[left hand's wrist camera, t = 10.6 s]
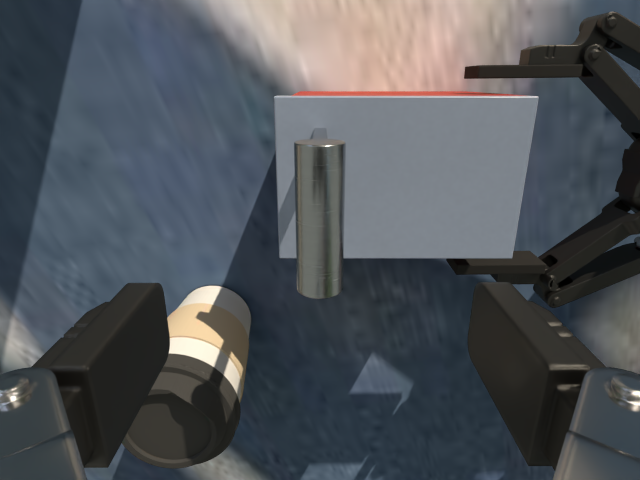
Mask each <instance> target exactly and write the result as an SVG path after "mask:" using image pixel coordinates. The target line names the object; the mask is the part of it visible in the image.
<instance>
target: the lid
mask: <svg viewBox="0 0 640 480" xmlns="http://www.w3.org/2000/svg"><path fill="white" fill-rule="evenodd" d="M538 99H539V97H537V96H275V97H274V120H275V149H276V177H277V206H278V235H279V258H296V266H297V290H298V292H299V293H300V294H301V295H303V296H306V297H309V298H314V299H325V298H331V297H334V296H337V295H338V294H340V293H341V292H342V290H343V260H344V258H390V259H512V256H513V250H514V244H515V238H516V232H517V226H518V220H519V214H520V208H521V202H522V196H523V190H524V184H525V177H526V171H527V165H528V159H529V153H530V147H531V141H532V135H533V129H534V123H535V117H536V111H537V105H538Z"/></svg>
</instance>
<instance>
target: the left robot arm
mask: <svg viewBox="0 0 640 480" xmlns="http://www.w3.org/2000/svg"><path fill="white" fill-rule="evenodd" d="M169 349H170V334H169V327H168V320H167V313H166V305H165V298H164V292H163V288H162V286H161V284H159V283H128V284H126V285H125V286H124V287H123V288H122V289H121V290H120V291H119V293H118V294H117V295H116V296H115V297H114V298H113V299H112V300H111V301H110V302H105V303H103V304H101V305H99V306H97V307H96V308H94V309H92V310H90V311H88V312H87V313H86V314H85V315H84V316H83V317H82V318H81V319H80V320H79V321H77V322H76V323H75V324H74V327H71V328H70V329H69V330H68V331H67V332H66V333H65V334H64V338H60V339H59V340H58V341H57V342H56V343H55V344H54V345H53V346H52V347H51V348H50V349H49V350H48V351H47V352H46V353H45V354H44V355H43V356H42V357H41V358H40V359H39V360H38V361H37V362H36V363H35V364H34V365H33V366H32V367H30V368H22V369H17V370H13V371H10V372H6V373H4V374H1V375H0V480H87V477H86V474H85V471H84V468H108V467H109V465H110V463H111V461H112V459H113V458H114V456H115V454H116V452H117V450H118V448H119V447H120V445H121V443H122V441H123V439H124V437H125V436H126V434H127V432H128V430H129V428H130V427H131V425H132V423H133V421H134V419H135V417H136V416H137V414H138V412H139V410H140V408H141V407H142V405H143V403H144V401H145V399H146V397H147V396H148V394H149V392H150V390H151V388H152V387H153V385H154V383H155V381H156V379H157V377H158V376H159V374H160V372H161V370H162V368H163V366H164V365H165V363H166V361H167V358H168V355H169ZM468 350H469V355H470V358H471V361H472V363H473V364H474V366H475V368H476V370H477V372H478V374H479V376H480V377H481V379H482V381H483V383H484V385H485V387H486V388H487V390H488V392H489V394H490V396H491V398H492V399H493V401H494V403H495V405H496V407H497V409H498V411H499V412H500V414H501V416H502V418H503V420H504V422H505V423H506V425H507V427H508V429H509V431H510V433H511V434H512V436H513V438H514V440H515V442H516V444H517V446H518V447H519V449H520V451H521V453H522V455H523V457H524V458H525V460H526V462H527V464H528V466H552V467H553V469H554V470H555V474H554V477H553V480H640V375H639V374H636V373H634V372H630V371H627V370H623V369H618V368H610V367H605V366H604V365H603V364H602V363H601V362H600V361H599V360H598V359H597V358H596V357H595V356H594V355H593V354H592V353H591V352H590V351H589V350H588V349H587V348H586V347H585V346H584V345H583V344H582V343H581V342H580V341H579V340H578V339H577V338H576V337H573V334H572V333H571V332H570V331H569V330H568V329H567V328H566V327H565V326H563V324H562V323H561V322H560V321H559V320H558V319H557V318H556V317H555V316H554V315H553V314H552V313H551V312H550V311H548V310H547V309H545V308H543V307H541V306H539V305H538V304H536V303H534V302H532V301H527V300H526V299H525V298H524V297H523V296H522V295H521V294H520V293H519V292H518V291H517V289H516V288H515V287H514V286H513V285H512V284H511V283H509V282H479V283H477V285H476V286H475V289H474V295H473V302H472V310H471V317H470V324H469V332H468Z"/></svg>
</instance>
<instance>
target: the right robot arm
mask: <svg viewBox="0 0 640 480" xmlns="http://www.w3.org/2000/svg"><path fill="white" fill-rule="evenodd" d="M579 31H580V33H579V35H578V37H577V39H576V41H575V42H574V43H573V44H571V45H539V46H533V47H528V48H526V49H523V50H521V55H520V62H519V65H480V66H469V67H465V76H464V79H472V78H562V77H579V78H580V79H581V80H582V82H583V83H584V84H585V85H586V86H587V87H588V88H589V89H590V90H591V91H592V92H593V93H594V94H595V95H596V96H597V98H598V99H599V100H600V101H601V102H602V103H603V104H604V105H605V106H606V107H607V108H608V109H609V110H610V111H611V113H612V114H613V115H614V116H615V117H616V118H617V119H618V120H619V121H620V122H621V127H622V128H623V130H624V131H625V132H626V133H627V134H628V135H629V136H630V137H631V138H632V139H633V140H634V142H633V143H632V144H631V146H630V147H629V149H625V150H624V154H623V159H622V165H623V171H622V173H621V175H620V177H619V179H618V181H617V185H616V189H615V191H616V192H619V197H618V198H616V199H615V200H613V201H612V202H610V203H609V204H608V205H606V206H605V207H604V208H603V209H602V213H601V214H600V215H598V216H597V217H596V218H594V219H593V220H591V221H590V222H588V223H587V224H585V225H584V226H583V227H581V228H580V229H578V230H577V231H575V232H574V233H573V234H571V235H570V236H568V237H567V238H565V239H564V240H562V241H561V242H560V243H558V244H557V245H555V246H554V247H552V248H551V249H550V250H548V251H547V252H545V253H544V254H542V255H541V256H539V257H536V256H535V255H534V254H533V253H531V252H530V251H513V256H512V259H447V262H448V263H449V265H450V266H451V268H452V269H453V270H454V272H455V273H456V275H467V274H490V275H491V276H492V277H493V278H494V279H495V280H496V281H497V282H509V283H511V284H534V286H533V290H534V291H535V292H536V293H537V294H538V295H539V296H540V297H541V298H542V299H543V300H544V301H545V302H546V303H547V304H548V305H549V306H550V307H552V308H556V307H559V306H562V305H564V304H567V303H569V302H571V301H574V300H576V299H579V298H581V297H583V296H586V295H588V294H591V293H593V292H596V291H598V290H600V289H603V288H605V287H608V286H610V285H613V284H615V283H617V282H620V281H622V280H625V279H627V278H629V277H632V276H634V275H637V274H639V273H640V237H636V238H635V240H634V242H635V243H629V244H625V245H622V246H619V247H617V248H614V249H612V250H610V251H607V250H608V249H610V248H611V247H613V246H614V245H616V244H617V243H619V242H620V241H622V240H623V239H625V238H626V237H628V236H629V235H633V234H639V233H640V88H639V87H638V86H637V85H636V84H635V83H634V82H633V80H632V79H631V78H630V77H629V76H628V75H627V74H626V73H625V72H624V70H623V69H622V68H621V67H620V66H619V65H618V64H617V63H616V61H615V60H614V59H613V58H612V57H611V56H610V55H609V54H608V53H607V51H608V52H610V53H612V54H613V55H615V56H617V57H618V58H620V59H622V60H623V61H625V62H627V63H628V64H630V65H632V66H633V67H635V68H637V69H638V70H640V26H638V25H637V24H635V23H634V22H632V21H630V20H629V19H627V18H625V17H624V16H622V15H621V14H619V13H617V12H609V13H605V14H601V15H597V16H592V17H588V18H586V19H584V20H583V21H582V22H581V24H580V27H579ZM606 50H607V51H606ZM630 210H632V211H634V212H635V214H630V213H628V211H630ZM605 251H607V252H605ZM604 252H605V253H604ZM602 253H603V254H602Z"/></svg>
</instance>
